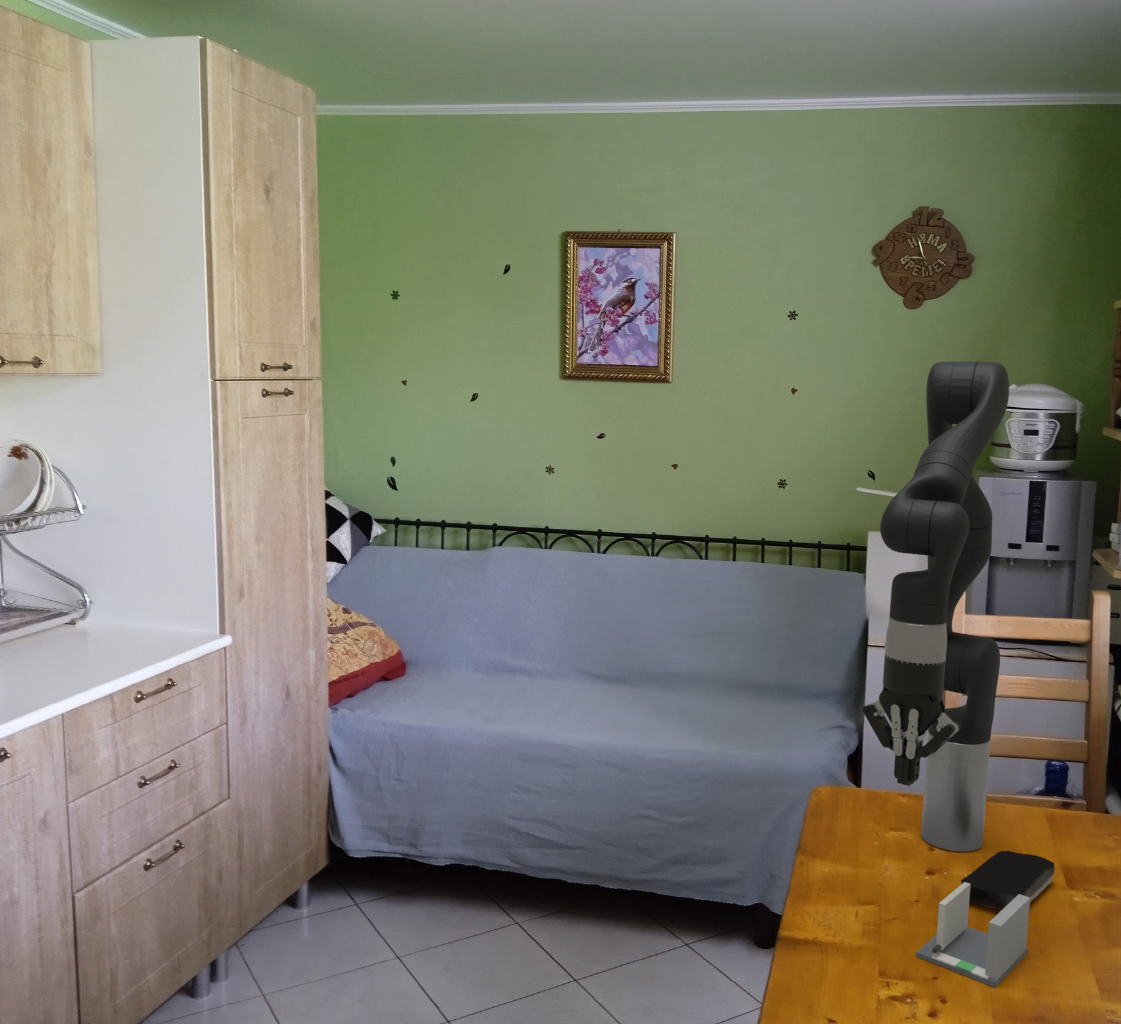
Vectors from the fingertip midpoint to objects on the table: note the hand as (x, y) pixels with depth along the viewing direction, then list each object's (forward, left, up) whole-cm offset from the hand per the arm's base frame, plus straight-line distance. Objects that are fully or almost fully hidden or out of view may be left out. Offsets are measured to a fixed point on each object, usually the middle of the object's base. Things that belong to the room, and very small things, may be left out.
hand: (905, 782), depth 144 cm
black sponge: (-21, +7, -21) cm, 30 cm away
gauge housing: (0, +10, -20) cm, 22 cm away
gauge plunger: (+1, +8, -19) cm, 20 cm away
